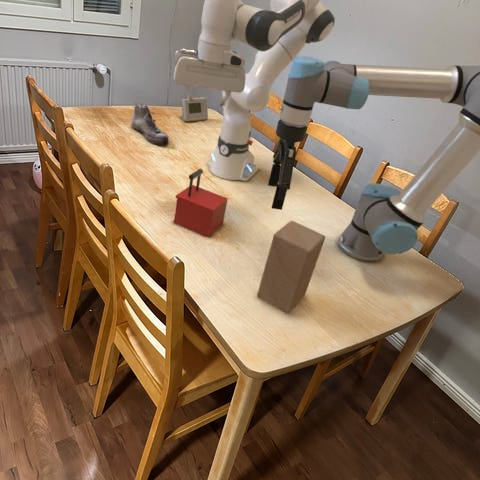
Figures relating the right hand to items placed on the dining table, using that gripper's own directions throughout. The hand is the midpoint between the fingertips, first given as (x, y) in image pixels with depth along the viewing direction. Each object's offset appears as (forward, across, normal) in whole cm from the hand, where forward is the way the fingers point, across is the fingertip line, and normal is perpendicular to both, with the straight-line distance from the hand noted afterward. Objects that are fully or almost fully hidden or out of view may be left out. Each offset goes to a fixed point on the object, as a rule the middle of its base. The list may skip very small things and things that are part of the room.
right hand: (274, 196), depth 122 cm
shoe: (+20, -82, -45) cm, 95 cm away
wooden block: (+20, +18, +5) cm, 28 cm away
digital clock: (+20, -115, -28) cm, 120 cm away
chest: (+20, -13, -19) cm, 31 cm away
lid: (+11, -13, -19) cm, 26 cm away
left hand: (-16, -21, -22) cm, 35 cm away
